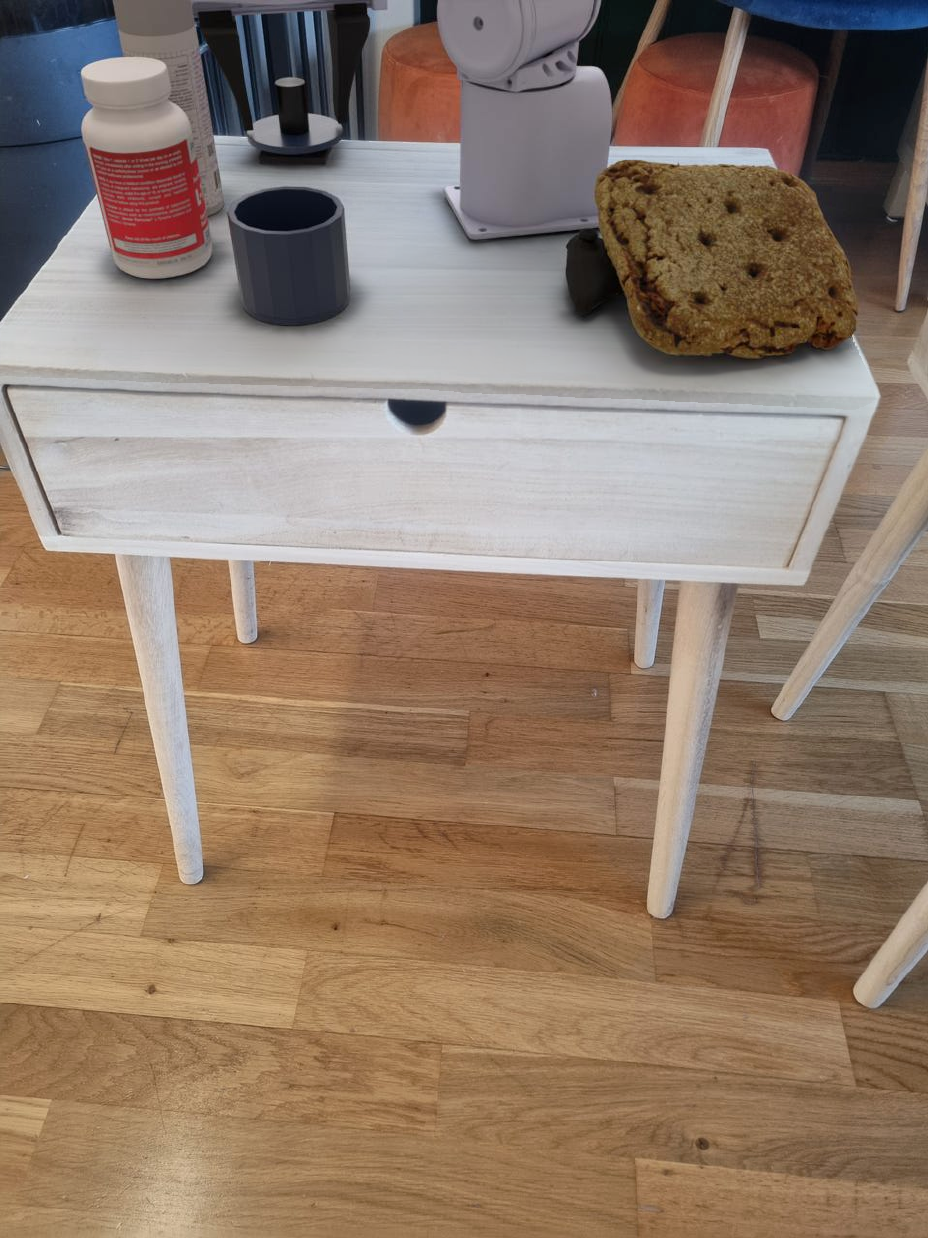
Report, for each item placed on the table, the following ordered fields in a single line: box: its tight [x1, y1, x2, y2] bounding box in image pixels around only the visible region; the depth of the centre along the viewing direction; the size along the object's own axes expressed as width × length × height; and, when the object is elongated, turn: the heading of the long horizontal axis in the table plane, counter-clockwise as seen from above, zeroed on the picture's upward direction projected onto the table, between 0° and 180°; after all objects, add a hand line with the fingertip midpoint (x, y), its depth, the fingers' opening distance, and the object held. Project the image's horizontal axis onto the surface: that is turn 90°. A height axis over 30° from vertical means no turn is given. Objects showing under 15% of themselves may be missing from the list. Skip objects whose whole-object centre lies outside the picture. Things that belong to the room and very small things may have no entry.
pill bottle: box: [80, 56, 213, 280], centre depth 59 cm, size 6×6×11 cm
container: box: [112, 0, 225, 217], centre depth 63 cm, size 5×5×15 cm
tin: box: [226, 185, 351, 326], centre depth 57 cm, size 6×6×5 cm
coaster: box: [257, 146, 333, 166], centre depth 75 cm, size 5×5×1 cm
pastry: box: [594, 159, 859, 359], centre depth 56 cm, size 17×17×3 cm
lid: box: [246, 76, 344, 155], centre depth 74 cm, size 7×7×4 cm
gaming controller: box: [564, 228, 625, 316], centre depth 59 cm, size 9×5×5 cm
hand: (294, 122), depth 74 cm, fingers open, 6 cm apart
